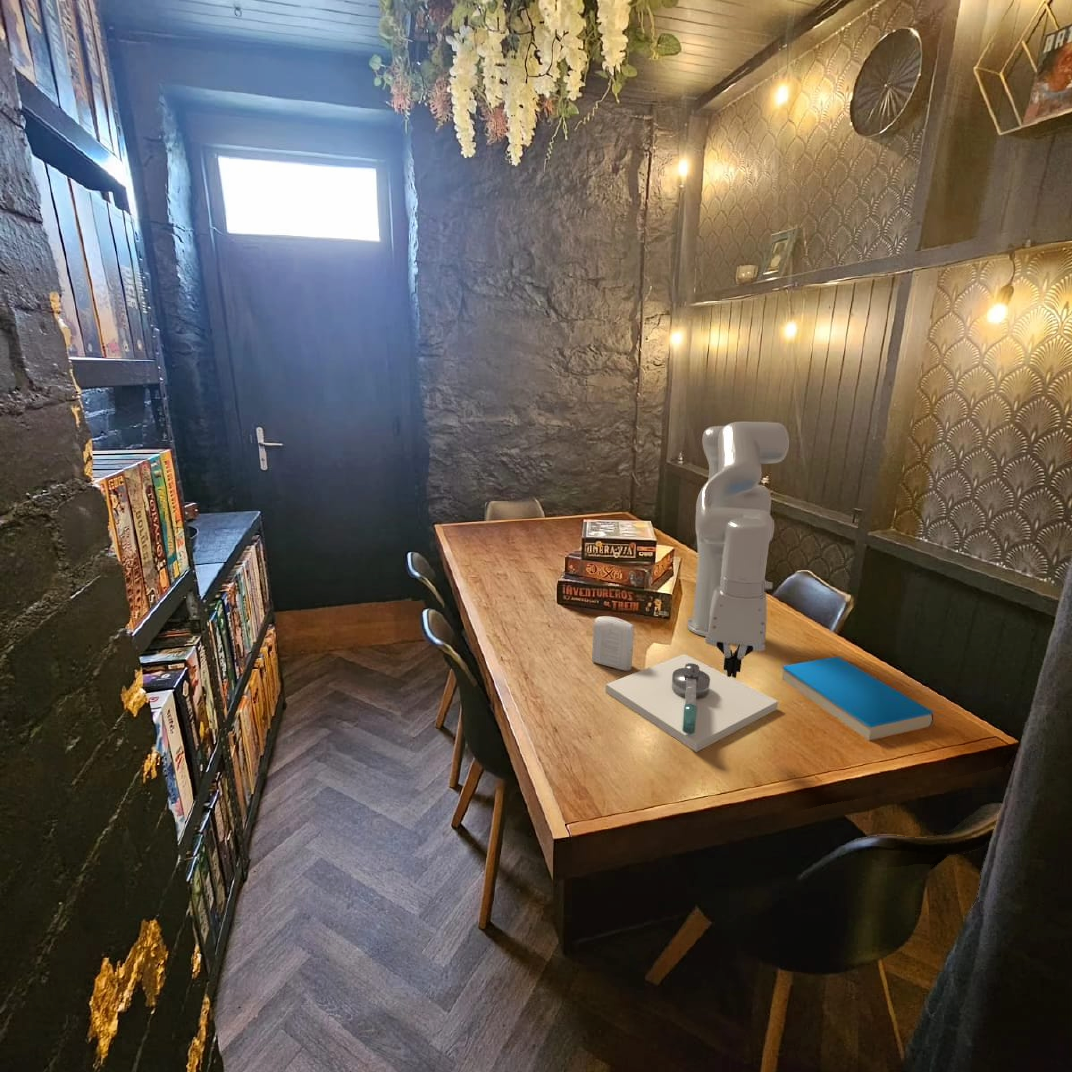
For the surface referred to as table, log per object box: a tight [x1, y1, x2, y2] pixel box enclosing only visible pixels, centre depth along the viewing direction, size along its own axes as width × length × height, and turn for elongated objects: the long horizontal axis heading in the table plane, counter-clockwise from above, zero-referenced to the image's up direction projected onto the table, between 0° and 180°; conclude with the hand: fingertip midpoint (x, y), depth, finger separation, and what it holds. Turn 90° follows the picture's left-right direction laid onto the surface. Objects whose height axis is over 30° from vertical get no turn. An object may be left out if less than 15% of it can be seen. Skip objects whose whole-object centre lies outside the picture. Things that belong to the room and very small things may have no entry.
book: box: [781, 656, 934, 741], centre depth 127 cm, size 17×4×25 cm
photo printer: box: [591, 615, 635, 672], centre depth 141 cm, size 10×4×12 cm, turn 60°
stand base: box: [605, 653, 779, 753], centre depth 127 cm, size 26×26×2 cm
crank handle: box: [672, 663, 710, 734], centre depth 120 cm, size 22×8×6 cm, turn 164°
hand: (731, 673), depth 111 cm, fingers closed
